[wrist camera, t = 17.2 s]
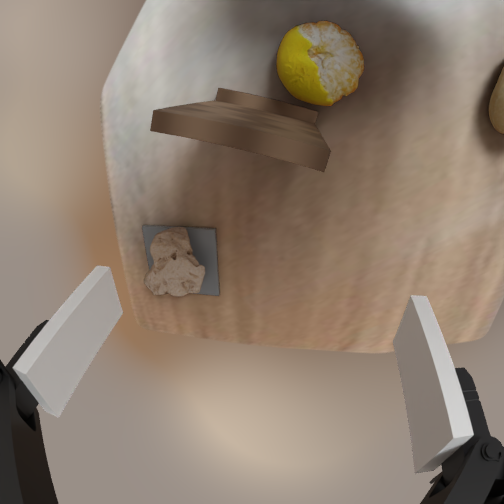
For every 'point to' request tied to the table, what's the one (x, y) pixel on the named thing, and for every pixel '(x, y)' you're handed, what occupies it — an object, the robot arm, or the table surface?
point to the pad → (194, 253)
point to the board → (249, 127)
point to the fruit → (319, 63)
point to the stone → (174, 265)
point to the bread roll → (497, 105)
